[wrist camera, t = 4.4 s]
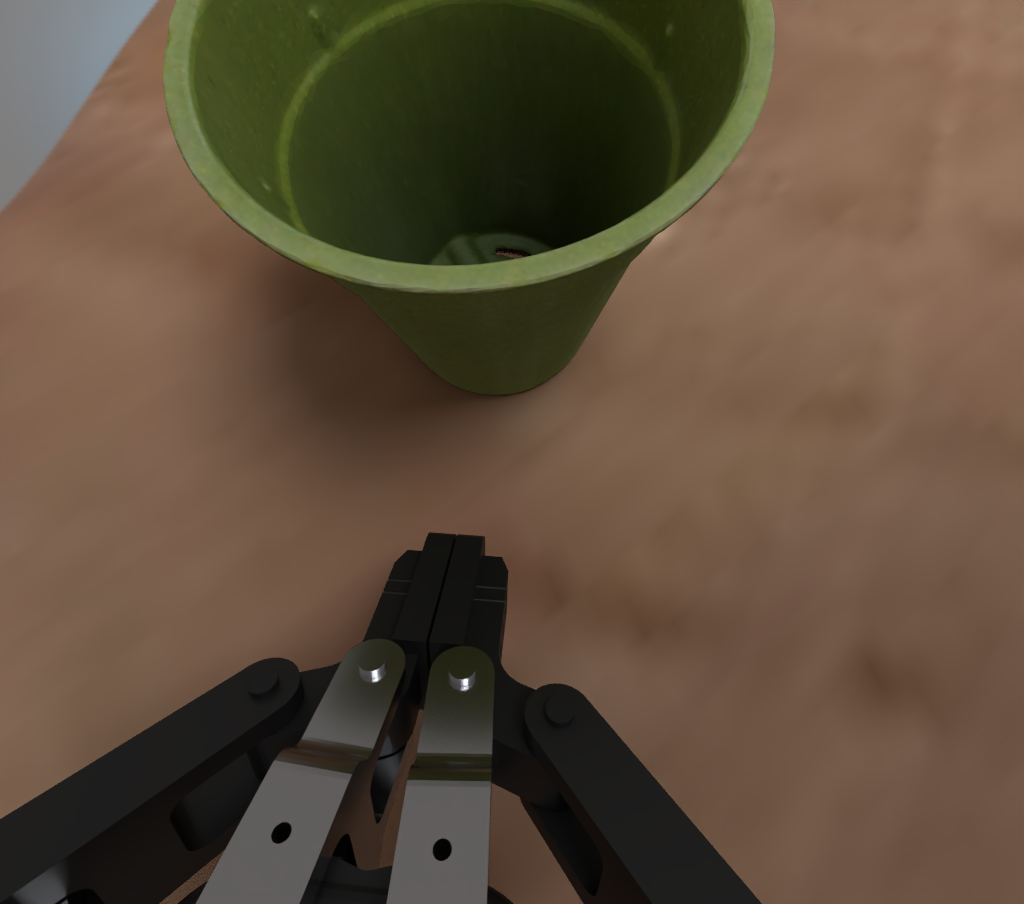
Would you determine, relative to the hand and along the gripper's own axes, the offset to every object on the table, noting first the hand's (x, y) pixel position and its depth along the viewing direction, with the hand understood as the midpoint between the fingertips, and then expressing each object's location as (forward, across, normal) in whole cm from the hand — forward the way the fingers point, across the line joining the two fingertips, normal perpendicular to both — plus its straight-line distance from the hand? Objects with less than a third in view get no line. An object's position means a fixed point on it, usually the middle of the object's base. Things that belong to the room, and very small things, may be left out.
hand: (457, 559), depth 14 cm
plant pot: (+10, 0, -4) cm, 11 cm away
